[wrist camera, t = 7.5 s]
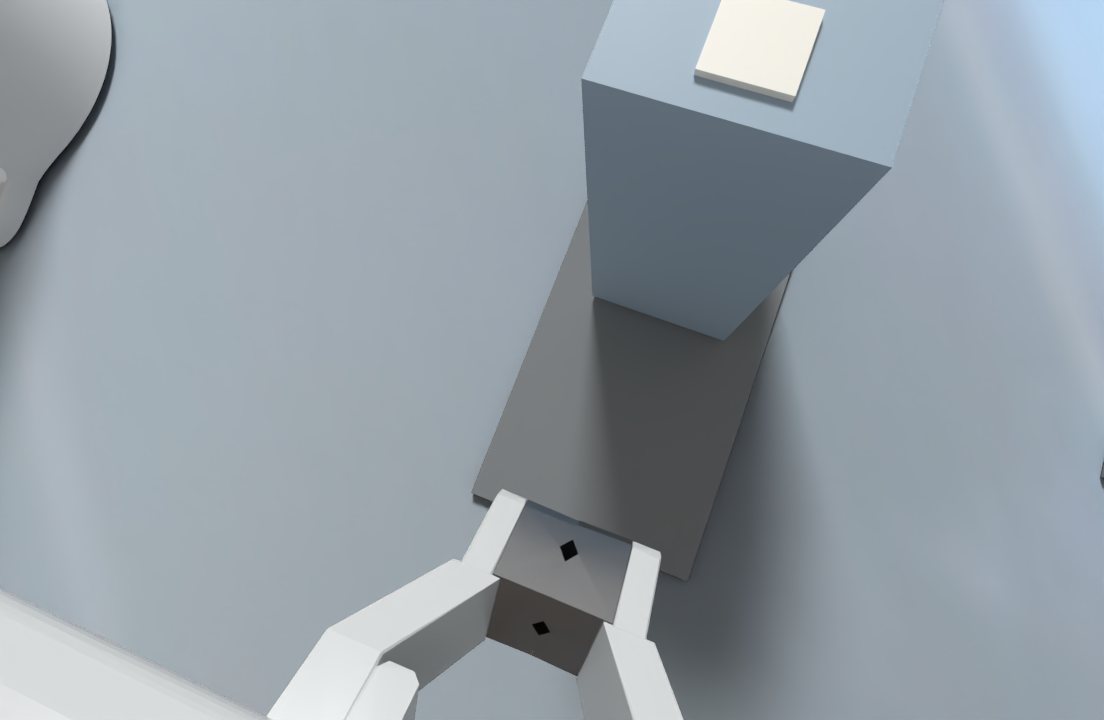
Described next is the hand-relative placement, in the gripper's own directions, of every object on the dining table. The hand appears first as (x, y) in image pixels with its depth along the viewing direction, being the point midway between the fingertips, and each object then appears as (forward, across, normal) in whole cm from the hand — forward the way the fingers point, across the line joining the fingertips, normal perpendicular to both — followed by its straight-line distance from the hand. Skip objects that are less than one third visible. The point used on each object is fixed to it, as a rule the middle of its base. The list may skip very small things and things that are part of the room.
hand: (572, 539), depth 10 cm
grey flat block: (+11, 0, +3) cm, 12 cm away
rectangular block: (+14, 0, 0) cm, 14 cm away
